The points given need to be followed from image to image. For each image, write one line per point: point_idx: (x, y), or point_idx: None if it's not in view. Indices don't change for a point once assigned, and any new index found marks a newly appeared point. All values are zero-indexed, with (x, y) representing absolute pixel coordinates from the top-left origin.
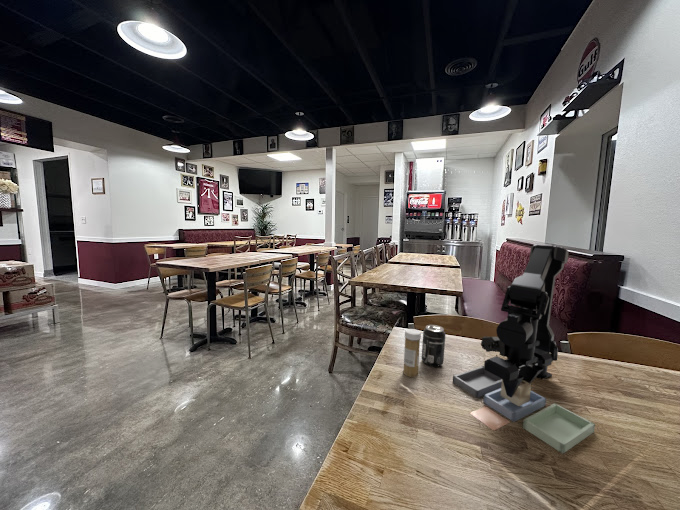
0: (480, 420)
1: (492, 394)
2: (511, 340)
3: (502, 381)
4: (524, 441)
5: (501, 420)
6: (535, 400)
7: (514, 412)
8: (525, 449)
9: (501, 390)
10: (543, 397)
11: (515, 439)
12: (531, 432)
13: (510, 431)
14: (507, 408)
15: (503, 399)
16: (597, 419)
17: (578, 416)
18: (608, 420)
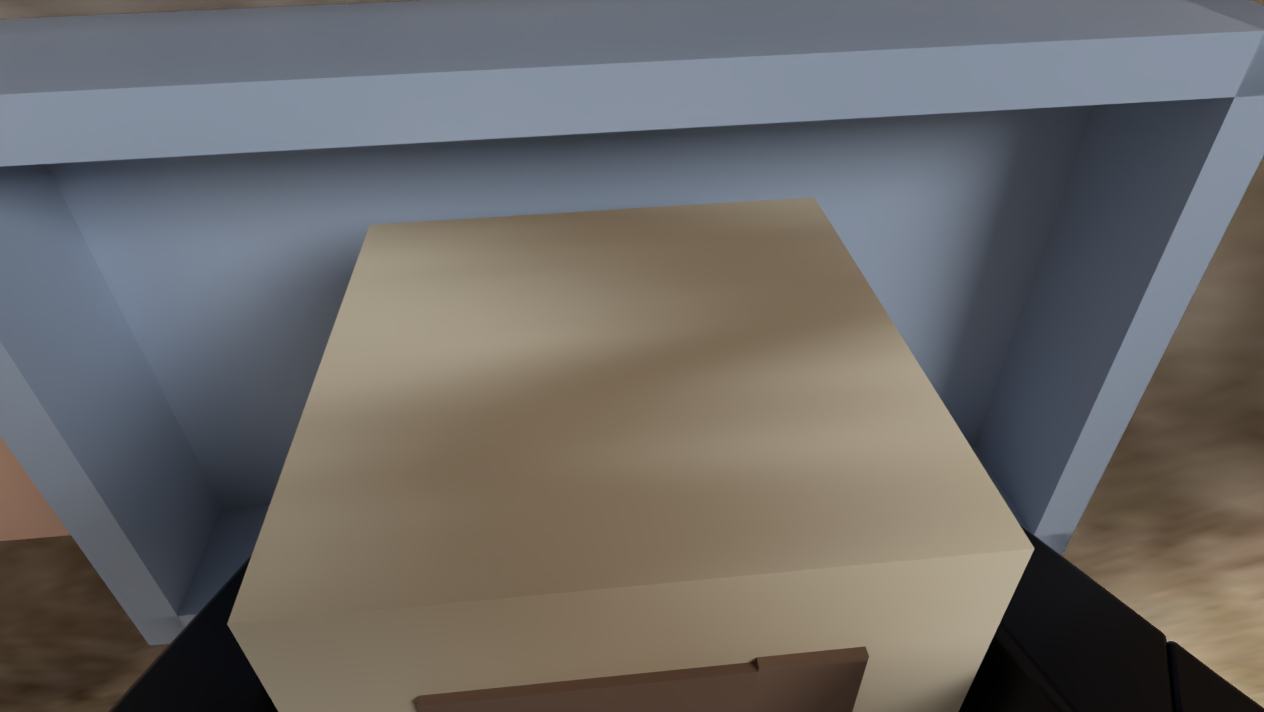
0: None
1: (137, 149)
2: None
3: (269, 550)
4: (124, 657)
5: (2, 482)
6: (1007, 391)
7: (178, 626)
8: (48, 703)
9: (347, 317)
10: (1060, 537)
11: (29, 629)
12: None
13: (57, 560)
14: (121, 556)
15: (522, 155)
16: (1182, 646)
17: None
18: (1237, 667)
